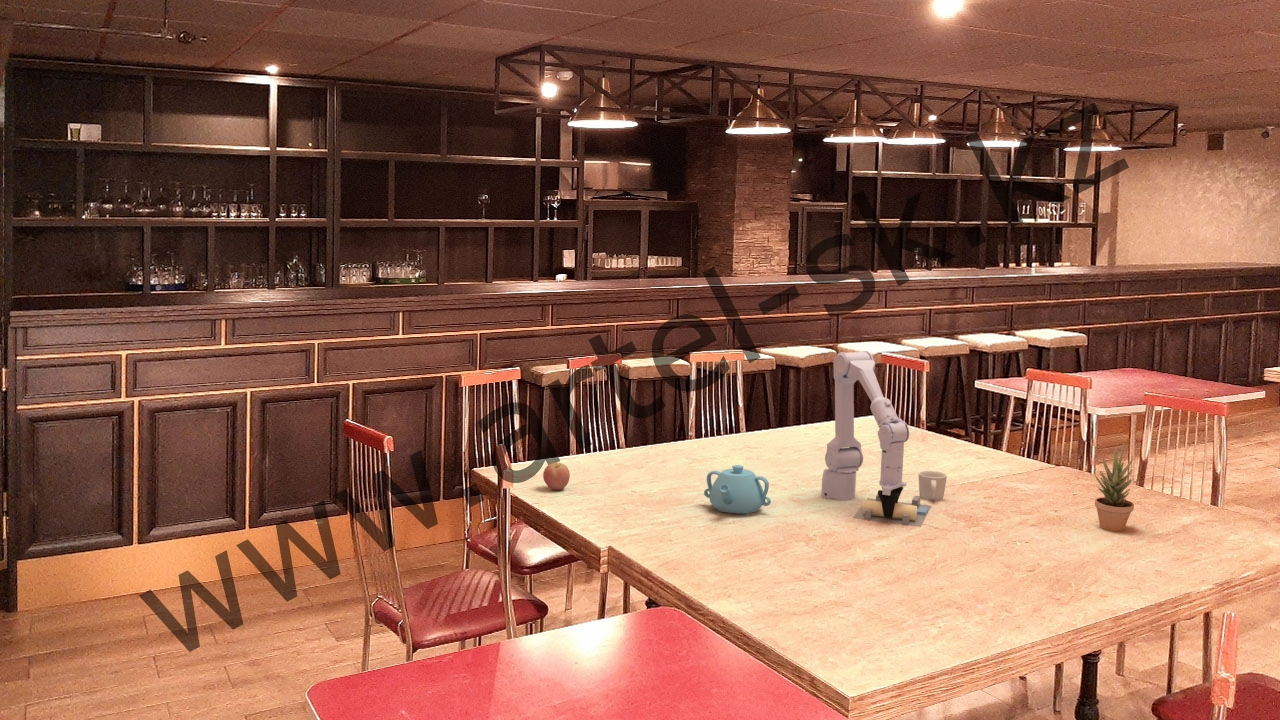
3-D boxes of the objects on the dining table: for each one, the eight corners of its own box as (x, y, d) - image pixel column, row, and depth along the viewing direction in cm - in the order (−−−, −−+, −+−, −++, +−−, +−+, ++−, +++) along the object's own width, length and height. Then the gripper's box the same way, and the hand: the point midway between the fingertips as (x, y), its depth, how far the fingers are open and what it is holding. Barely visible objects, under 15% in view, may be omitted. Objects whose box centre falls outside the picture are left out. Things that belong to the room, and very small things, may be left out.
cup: (947, 507, 293) (949, 480, 292) (918, 505, 295) (920, 478, 294) (944, 498, 304) (945, 471, 303) (916, 496, 305) (917, 469, 304)
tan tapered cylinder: (862, 515, 280) (862, 501, 280) (864, 512, 284) (865, 498, 283) (914, 522, 275) (915, 508, 274) (916, 518, 279) (917, 504, 278)
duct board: (852, 521, 279) (852, 509, 278) (867, 501, 299) (868, 490, 298) (920, 530, 272) (921, 517, 271) (931, 509, 292) (932, 497, 291)
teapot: (778, 507, 291) (780, 464, 289) (756, 526, 273) (757, 479, 271) (713, 498, 299) (714, 456, 298) (687, 516, 281) (688, 471, 280)
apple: (538, 491, 305) (538, 464, 303) (550, 485, 312) (550, 459, 310) (562, 494, 302) (562, 467, 301) (574, 488, 309) (574, 462, 308)
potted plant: (1115, 535, 270) (1123, 443, 266) (1085, 525, 278) (1092, 436, 275) (1141, 530, 274) (1148, 439, 271) (1110, 521, 283) (1117, 433, 279)
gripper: (902, 473, 269) (900, 523, 271) (911, 461, 283) (908, 509, 284) (875, 470, 272) (873, 520, 274) (885, 459, 285) (882, 506, 287)
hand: (889, 514), depth 279 cm, fingers closed on tan tapered cylinder, 4 cm apart
